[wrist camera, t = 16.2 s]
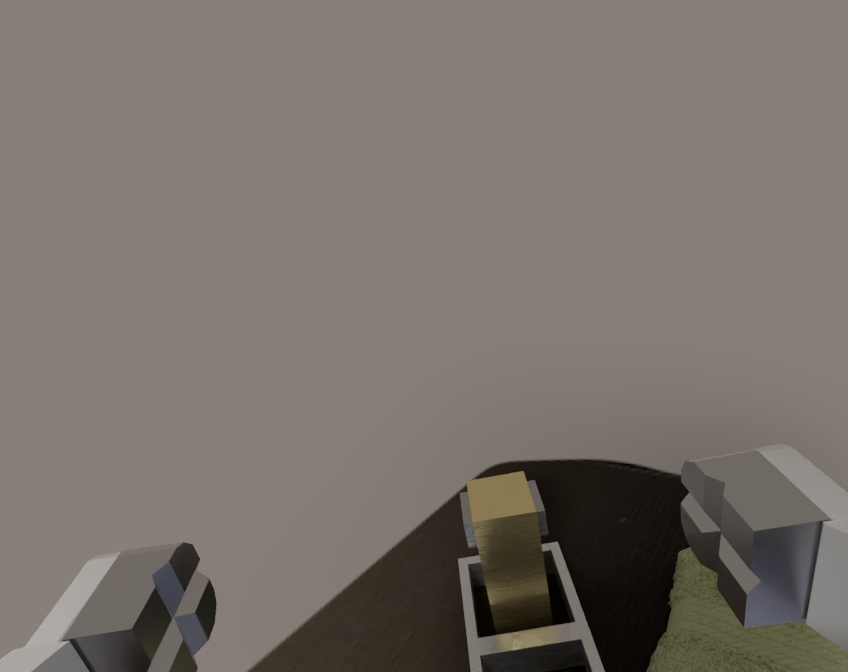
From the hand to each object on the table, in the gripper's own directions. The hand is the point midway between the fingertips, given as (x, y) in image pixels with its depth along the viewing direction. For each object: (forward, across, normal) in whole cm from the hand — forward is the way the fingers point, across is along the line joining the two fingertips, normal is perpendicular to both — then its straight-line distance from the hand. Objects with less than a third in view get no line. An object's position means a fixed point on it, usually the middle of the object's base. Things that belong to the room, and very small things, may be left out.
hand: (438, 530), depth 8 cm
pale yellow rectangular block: (+20, -3, +28) cm, 34 cm away
